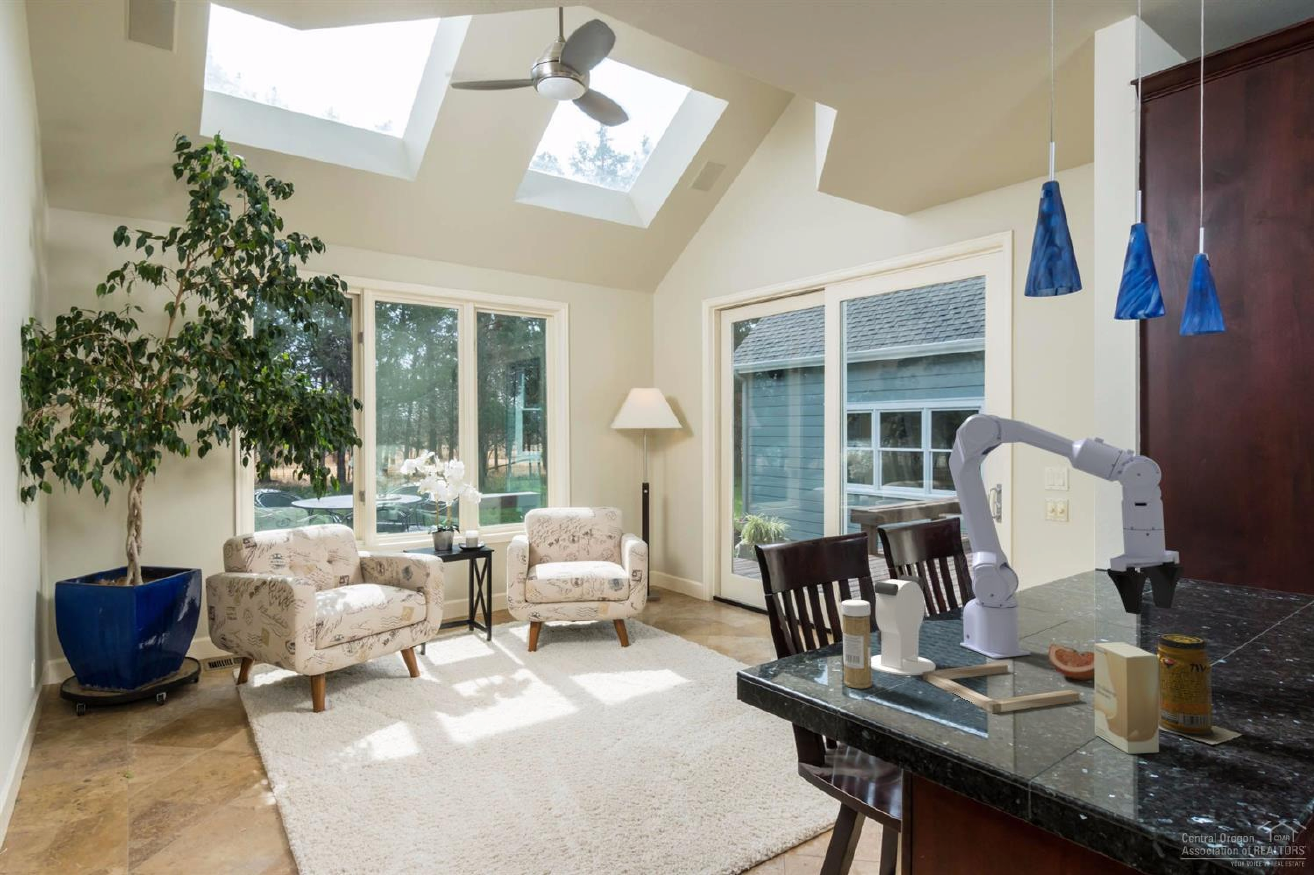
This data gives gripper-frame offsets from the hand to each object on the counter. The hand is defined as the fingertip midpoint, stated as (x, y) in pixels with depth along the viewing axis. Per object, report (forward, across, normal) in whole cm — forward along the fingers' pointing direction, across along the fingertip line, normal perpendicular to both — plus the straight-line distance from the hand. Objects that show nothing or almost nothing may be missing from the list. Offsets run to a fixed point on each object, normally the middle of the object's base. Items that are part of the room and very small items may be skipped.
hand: (1148, 610), depth 119 cm
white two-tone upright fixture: (+10, -33, +22) cm, 41 cm away
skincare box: (+11, -31, -16) cm, 37 cm away
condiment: (+11, -19, -17) cm, 28 cm away
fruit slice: (+10, -13, +3) cm, 17 cm away
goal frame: (+10, -28, +5) cm, 30 cm away
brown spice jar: (+10, -47, +17) cm, 51 cm away
